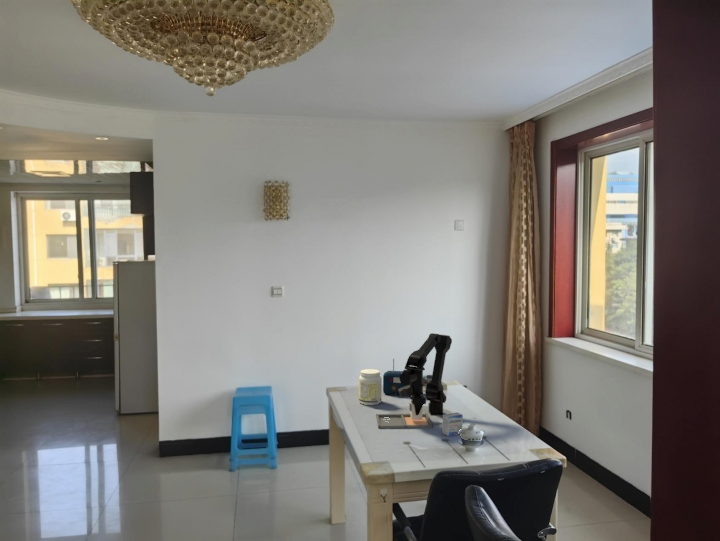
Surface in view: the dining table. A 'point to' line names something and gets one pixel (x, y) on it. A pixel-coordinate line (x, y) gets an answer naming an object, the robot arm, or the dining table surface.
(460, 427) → the medicine box
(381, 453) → the dining table surface
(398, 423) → the dock
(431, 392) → the robot arm
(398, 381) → the radio
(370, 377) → the supplement tub
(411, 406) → the plug
